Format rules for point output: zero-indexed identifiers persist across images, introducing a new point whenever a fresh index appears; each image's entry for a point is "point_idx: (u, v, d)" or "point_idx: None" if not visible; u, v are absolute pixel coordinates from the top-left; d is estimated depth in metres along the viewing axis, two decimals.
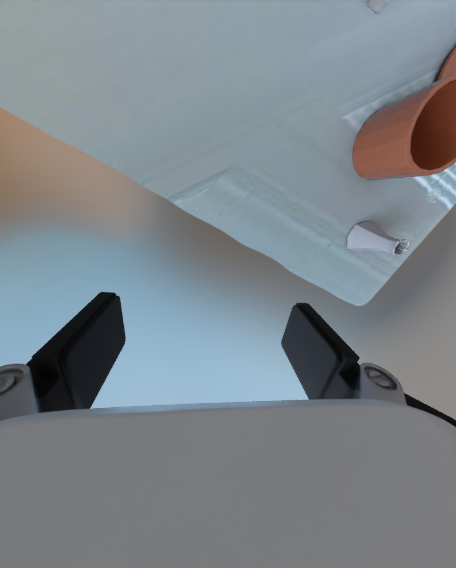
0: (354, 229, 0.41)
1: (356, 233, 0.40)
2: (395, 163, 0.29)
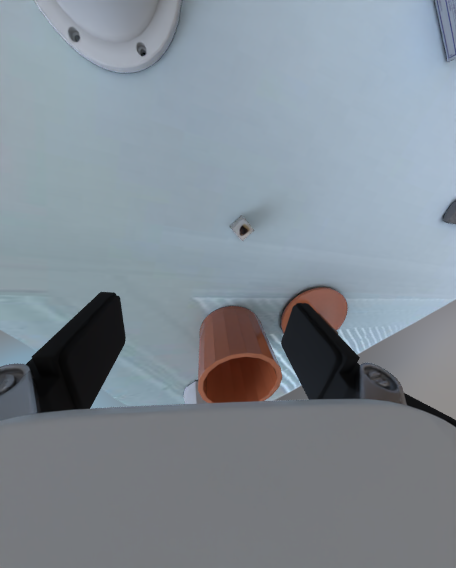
0: (191, 385, 0.38)
1: (190, 392, 0.38)
2: None
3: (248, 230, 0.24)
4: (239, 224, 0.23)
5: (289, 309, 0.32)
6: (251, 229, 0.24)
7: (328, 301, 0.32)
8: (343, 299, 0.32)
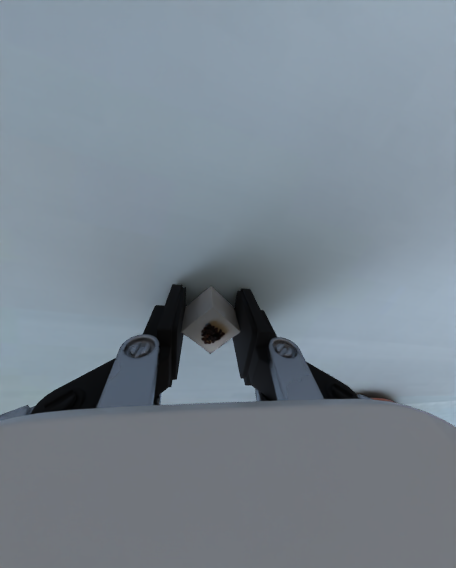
0: None
1: None
2: None
3: (225, 333, 0.09)
4: (200, 321, 0.09)
5: None
6: (232, 330, 0.09)
7: None
8: None
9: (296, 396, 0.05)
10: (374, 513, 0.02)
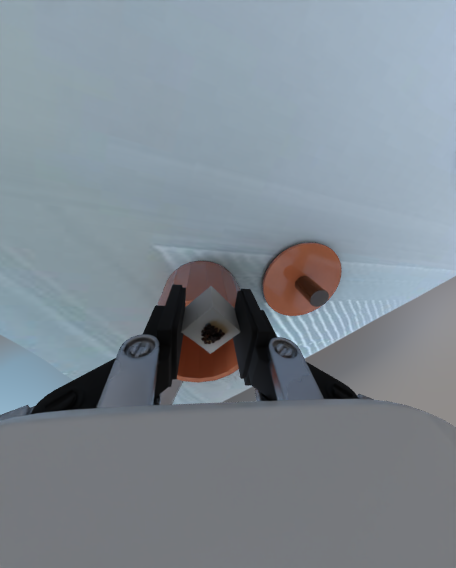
0: None
1: None
2: None
3: (225, 333, 0.09)
4: (200, 321, 0.09)
5: (272, 268, 0.26)
6: (232, 330, 0.09)
7: (320, 260, 0.27)
8: (337, 259, 0.27)
9: (296, 396, 0.05)
10: (374, 513, 0.02)
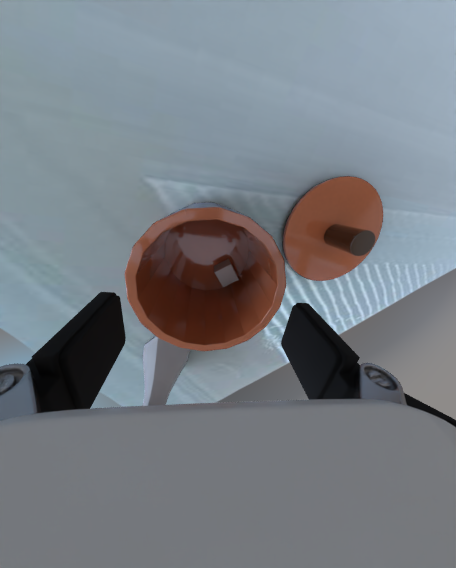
0: (153, 341, 0.27)
1: (149, 349, 0.26)
2: None
3: None
4: None
5: (297, 212, 0.21)
6: None
7: (357, 202, 0.21)
8: (378, 201, 0.21)
9: None
10: (374, 513, 0.02)
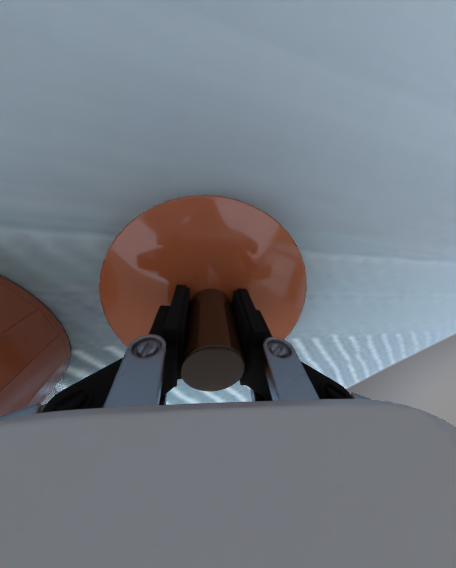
0: None
1: None
2: None
3: None
4: None
5: (110, 270, 0.10)
6: None
7: (242, 248, 0.10)
8: (290, 246, 0.10)
9: (289, 396, 0.05)
10: (374, 513, 0.02)
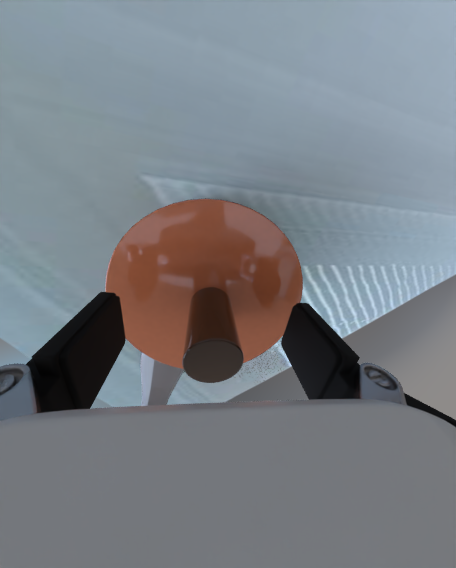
0: None
1: None
2: None
3: None
4: None
5: (115, 270, 0.10)
6: None
7: (241, 248, 0.10)
8: (287, 246, 0.11)
9: None
10: (374, 513, 0.02)
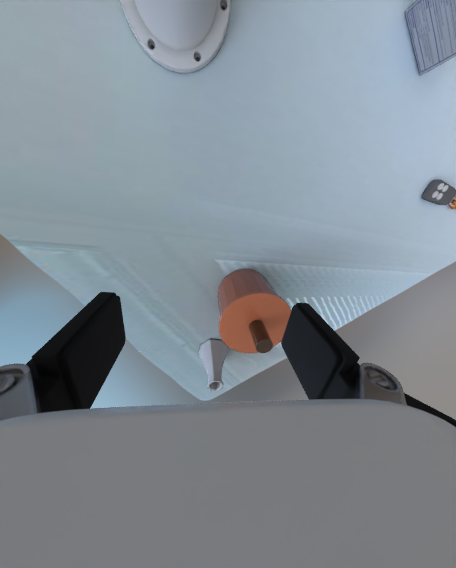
0: (207, 343, 0.44)
1: (205, 348, 0.44)
2: None
3: None
4: None
5: (225, 315, 0.29)
6: None
7: (269, 307, 0.29)
8: (286, 305, 0.29)
9: None
10: (374, 513, 0.02)
